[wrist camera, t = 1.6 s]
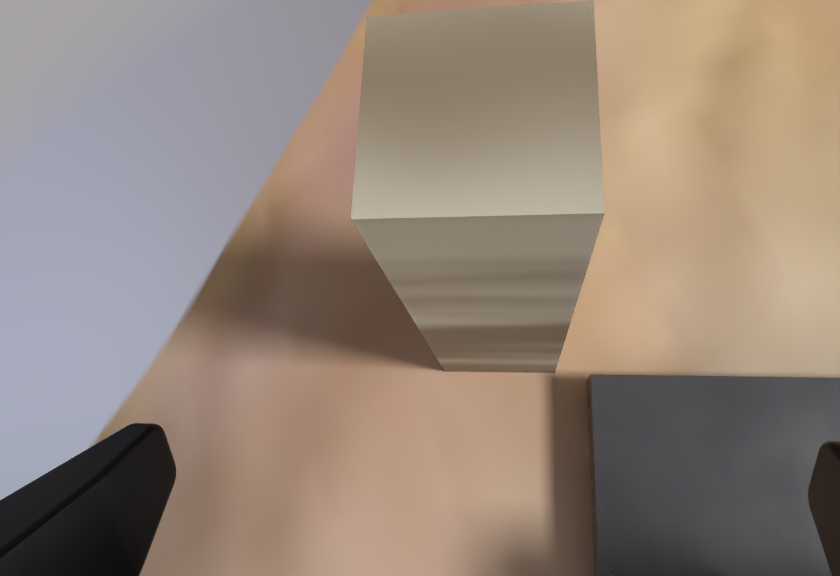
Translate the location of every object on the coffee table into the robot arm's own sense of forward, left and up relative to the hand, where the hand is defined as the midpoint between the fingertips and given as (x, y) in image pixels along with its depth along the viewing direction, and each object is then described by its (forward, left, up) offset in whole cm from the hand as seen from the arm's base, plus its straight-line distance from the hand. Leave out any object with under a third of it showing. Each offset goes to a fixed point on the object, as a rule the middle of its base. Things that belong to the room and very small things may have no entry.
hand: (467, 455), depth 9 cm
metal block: (+5, +2, -12) cm, 13 cm away
